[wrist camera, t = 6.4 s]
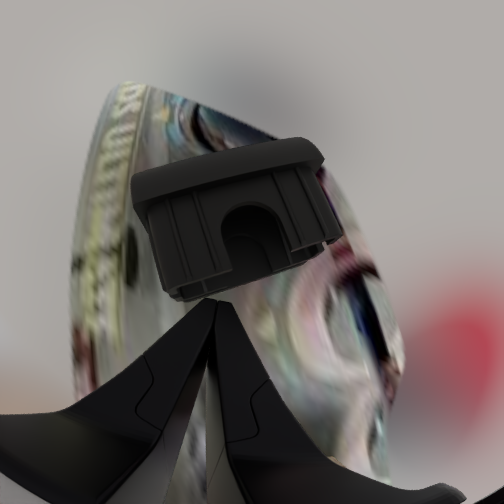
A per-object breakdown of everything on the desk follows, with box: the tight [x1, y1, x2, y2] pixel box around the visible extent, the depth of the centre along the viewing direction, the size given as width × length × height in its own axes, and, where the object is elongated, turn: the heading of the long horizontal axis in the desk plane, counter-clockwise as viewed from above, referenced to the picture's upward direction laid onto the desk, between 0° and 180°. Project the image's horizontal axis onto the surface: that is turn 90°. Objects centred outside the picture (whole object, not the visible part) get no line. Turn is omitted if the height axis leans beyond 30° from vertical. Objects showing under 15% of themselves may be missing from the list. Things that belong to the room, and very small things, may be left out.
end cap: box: [131, 137, 343, 302], centre depth 16 cm, size 10×7×7 cm
